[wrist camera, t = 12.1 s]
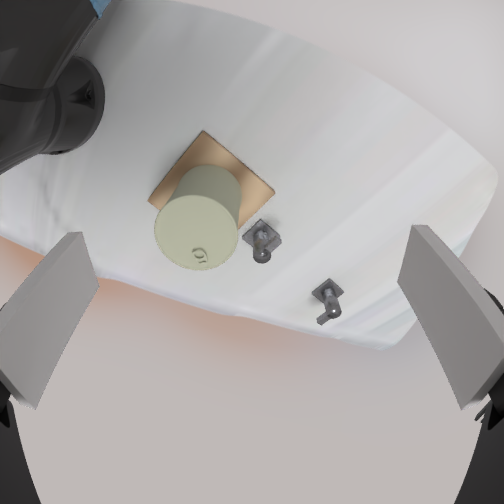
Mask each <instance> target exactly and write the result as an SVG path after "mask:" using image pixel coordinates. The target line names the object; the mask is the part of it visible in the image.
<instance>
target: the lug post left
mask: <svg viewBox="0 0 504 504" xmlns="http://www.w3.org/2000/svg"><path fill="white" fill-rule="evenodd" d="M242 239H243V240H245V241H246V242H247V243H248V244H250V245H251V246H252V247H253V258H254V260H255V261H256V262H258V263H266V262H268V261H269V260H270V258H271V252H272V251H273V250H274V249H276V248H277V247H278V246H279V245H280V244H281V243H282V242H281V239H280V235H279V234H278V233H277V232H275V231H274V230H273V229H272V228H271V227H269V226H268V225H267V224H266V223H265V222H264V221H262V220H261V219H260V220H259V221H258V222H257V223H256V224H255V225H254V226H253V227H252V228H251V229H250V230H249V231H248V232H247V233H246V234H245V235H244V236H243V237H242Z"/></svg>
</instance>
